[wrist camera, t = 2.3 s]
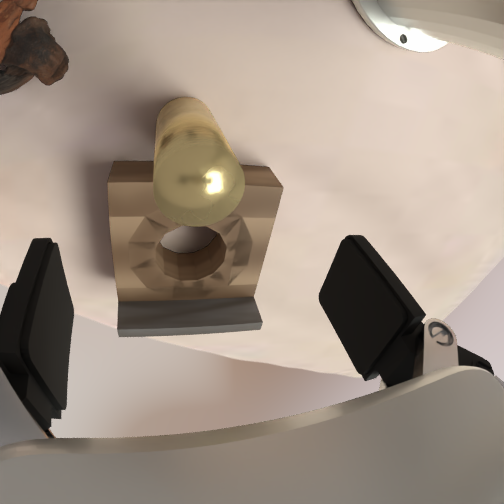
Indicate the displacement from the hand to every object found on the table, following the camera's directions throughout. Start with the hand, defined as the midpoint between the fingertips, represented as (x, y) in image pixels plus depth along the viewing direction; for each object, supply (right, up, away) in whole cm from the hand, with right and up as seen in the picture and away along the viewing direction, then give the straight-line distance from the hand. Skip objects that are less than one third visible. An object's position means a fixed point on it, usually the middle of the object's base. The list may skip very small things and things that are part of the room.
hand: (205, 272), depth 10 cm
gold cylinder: (-3, +10, +11) cm, 15 cm away
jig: (-4, +3, +17) cm, 17 cm away
